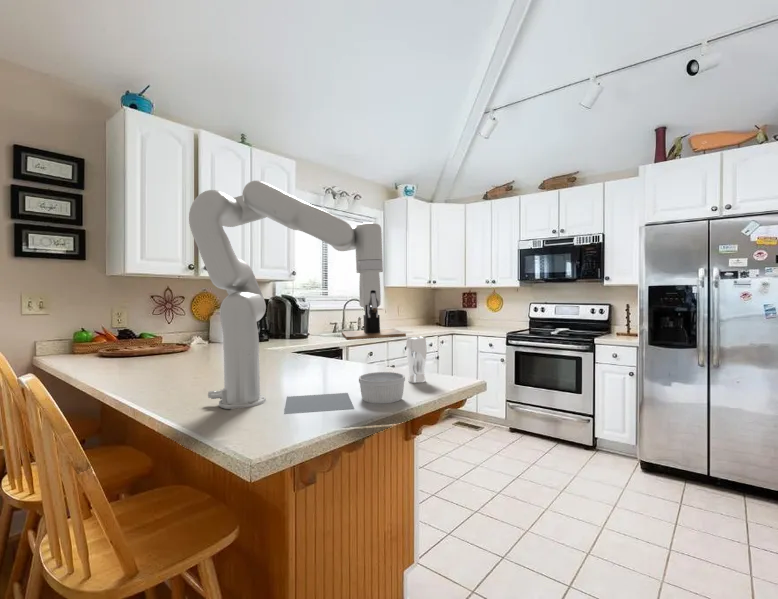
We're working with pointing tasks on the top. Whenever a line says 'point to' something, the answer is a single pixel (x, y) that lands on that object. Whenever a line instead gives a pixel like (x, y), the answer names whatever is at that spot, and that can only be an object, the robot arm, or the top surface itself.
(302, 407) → the mat
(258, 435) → the top surface
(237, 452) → the top surface
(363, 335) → the lid
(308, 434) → the top surface
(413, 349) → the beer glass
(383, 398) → the ramekin
